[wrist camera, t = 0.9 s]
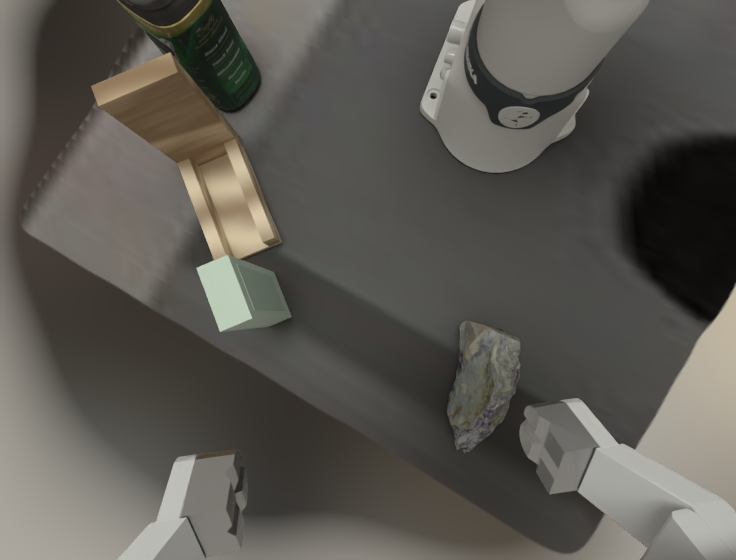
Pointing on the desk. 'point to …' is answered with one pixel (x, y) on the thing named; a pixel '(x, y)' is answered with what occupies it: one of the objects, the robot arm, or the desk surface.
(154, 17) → the coffee jar
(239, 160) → the track
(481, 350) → the mineral rock
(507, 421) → the desk surface
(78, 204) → the desk surface
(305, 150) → the desk surface
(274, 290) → the mint green rectangular block
